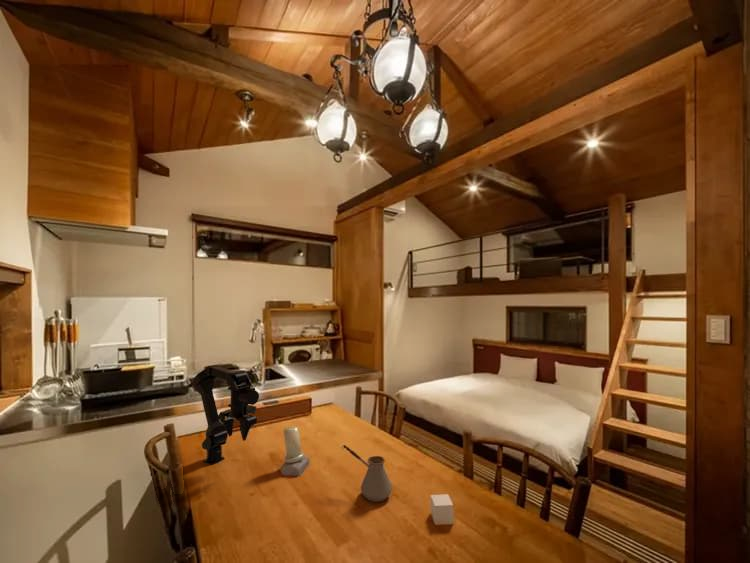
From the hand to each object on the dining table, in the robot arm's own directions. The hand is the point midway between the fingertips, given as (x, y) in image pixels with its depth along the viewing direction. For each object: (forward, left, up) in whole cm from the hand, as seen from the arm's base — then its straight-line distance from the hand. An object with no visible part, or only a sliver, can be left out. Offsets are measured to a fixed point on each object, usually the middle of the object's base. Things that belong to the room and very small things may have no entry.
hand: (237, 438), depth 145 cm
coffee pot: (+56, +14, -13) cm, 59 cm away
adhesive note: (+86, +14, -13) cm, 88 cm away
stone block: (+20, +13, -14) cm, 28 cm away
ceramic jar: (+20, +13, -9) cm, 26 cm away
